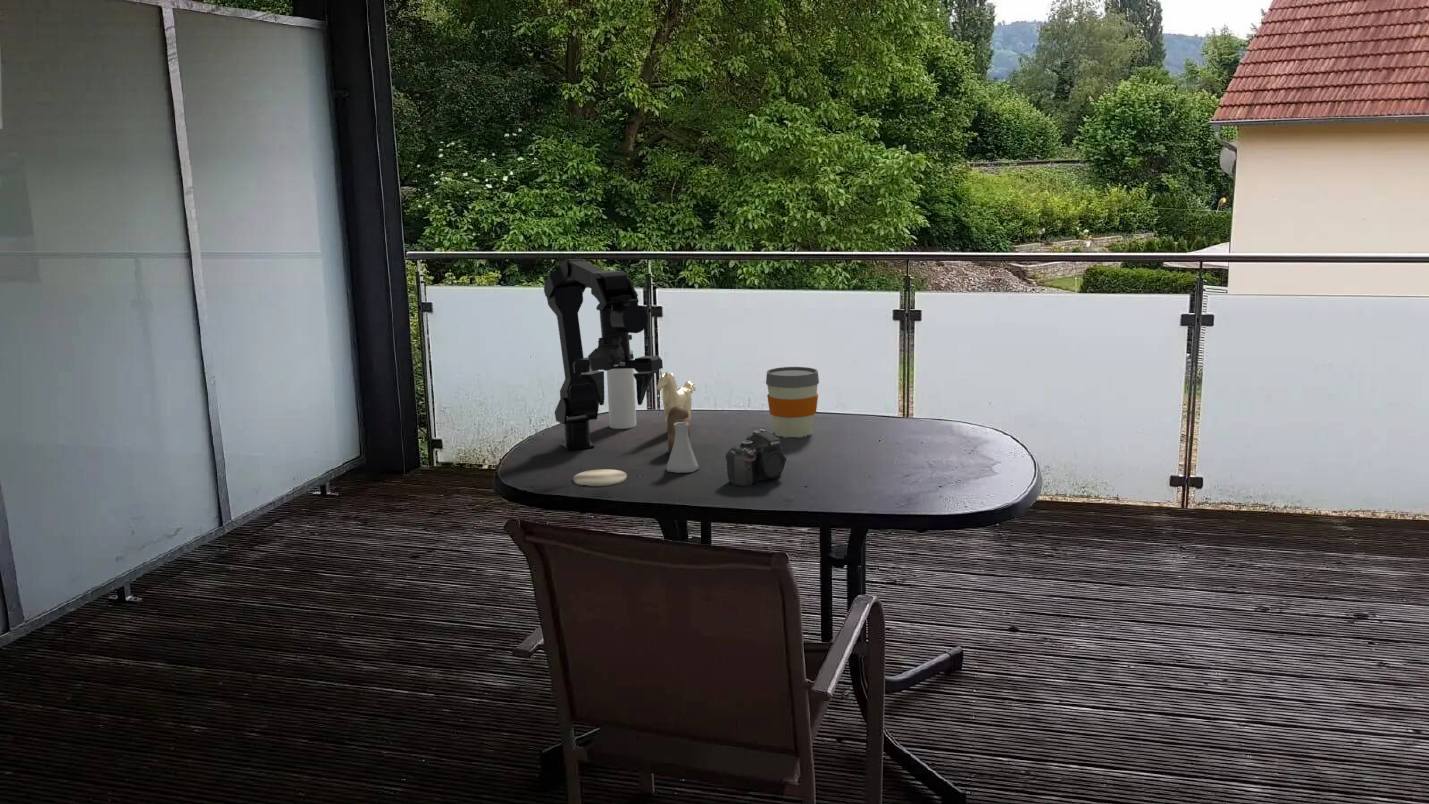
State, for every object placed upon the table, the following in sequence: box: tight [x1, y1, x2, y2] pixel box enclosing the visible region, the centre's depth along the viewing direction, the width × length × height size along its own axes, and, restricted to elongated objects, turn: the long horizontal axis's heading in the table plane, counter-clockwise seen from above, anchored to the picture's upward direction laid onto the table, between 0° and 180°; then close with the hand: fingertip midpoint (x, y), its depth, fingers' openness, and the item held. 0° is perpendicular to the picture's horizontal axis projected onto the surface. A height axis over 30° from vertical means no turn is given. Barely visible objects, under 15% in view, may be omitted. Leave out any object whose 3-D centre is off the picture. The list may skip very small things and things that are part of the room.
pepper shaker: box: [666, 406, 691, 454], centre depth 257 cm, size 5×5×10 cm
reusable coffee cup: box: [765, 366, 820, 438], centre depth 271 cm, size 12×12×15 cm
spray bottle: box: [606, 349, 637, 430], centre depth 283 cm, size 7×7×25 cm
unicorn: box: [656, 369, 697, 427], centre depth 277 cm, size 20×4×17 cm, turn 156°
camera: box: [725, 428, 787, 488], centre depth 233 cm, size 13×10×10 cm
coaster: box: [573, 468, 628, 487], centre depth 237 cm, size 11×11×1 cm
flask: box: [665, 422, 700, 474], centre depth 242 cm, size 7×7×10 cm
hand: (620, 404), depth 243 cm, fingers open, 9 cm apart
